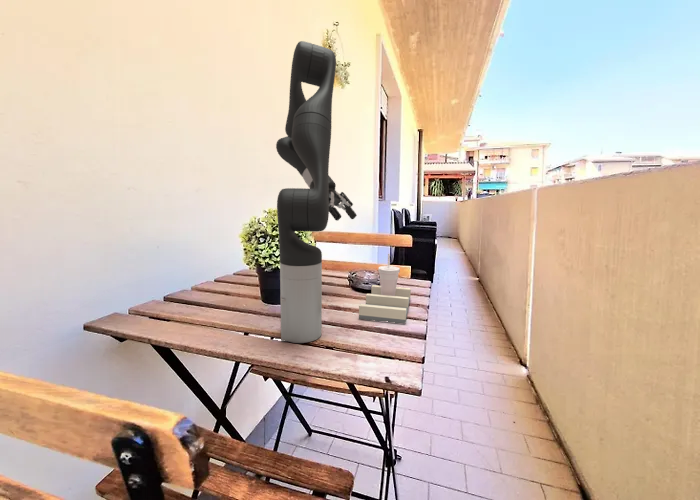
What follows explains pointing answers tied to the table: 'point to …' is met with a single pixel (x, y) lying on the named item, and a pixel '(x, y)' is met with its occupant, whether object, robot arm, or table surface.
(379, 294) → the rack
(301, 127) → the robot arm
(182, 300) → the table surface
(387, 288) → the smoothie
